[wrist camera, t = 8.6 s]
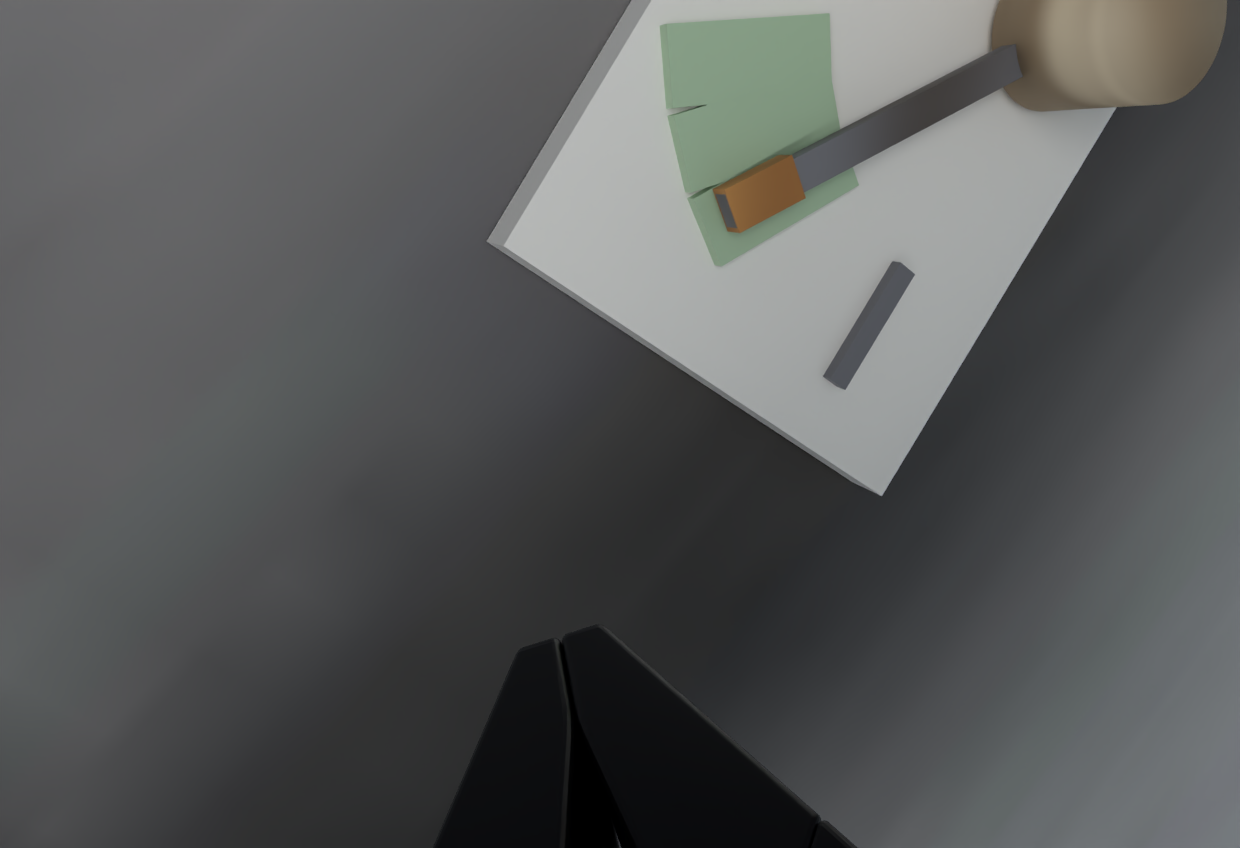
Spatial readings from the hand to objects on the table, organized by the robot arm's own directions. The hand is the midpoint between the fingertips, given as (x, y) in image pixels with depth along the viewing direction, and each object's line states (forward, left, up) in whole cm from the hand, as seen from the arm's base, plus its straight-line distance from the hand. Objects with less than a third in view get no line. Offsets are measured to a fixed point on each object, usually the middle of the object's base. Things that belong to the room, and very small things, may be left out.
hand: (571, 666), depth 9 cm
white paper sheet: (+8, -9, -11) cm, 16 cm away
